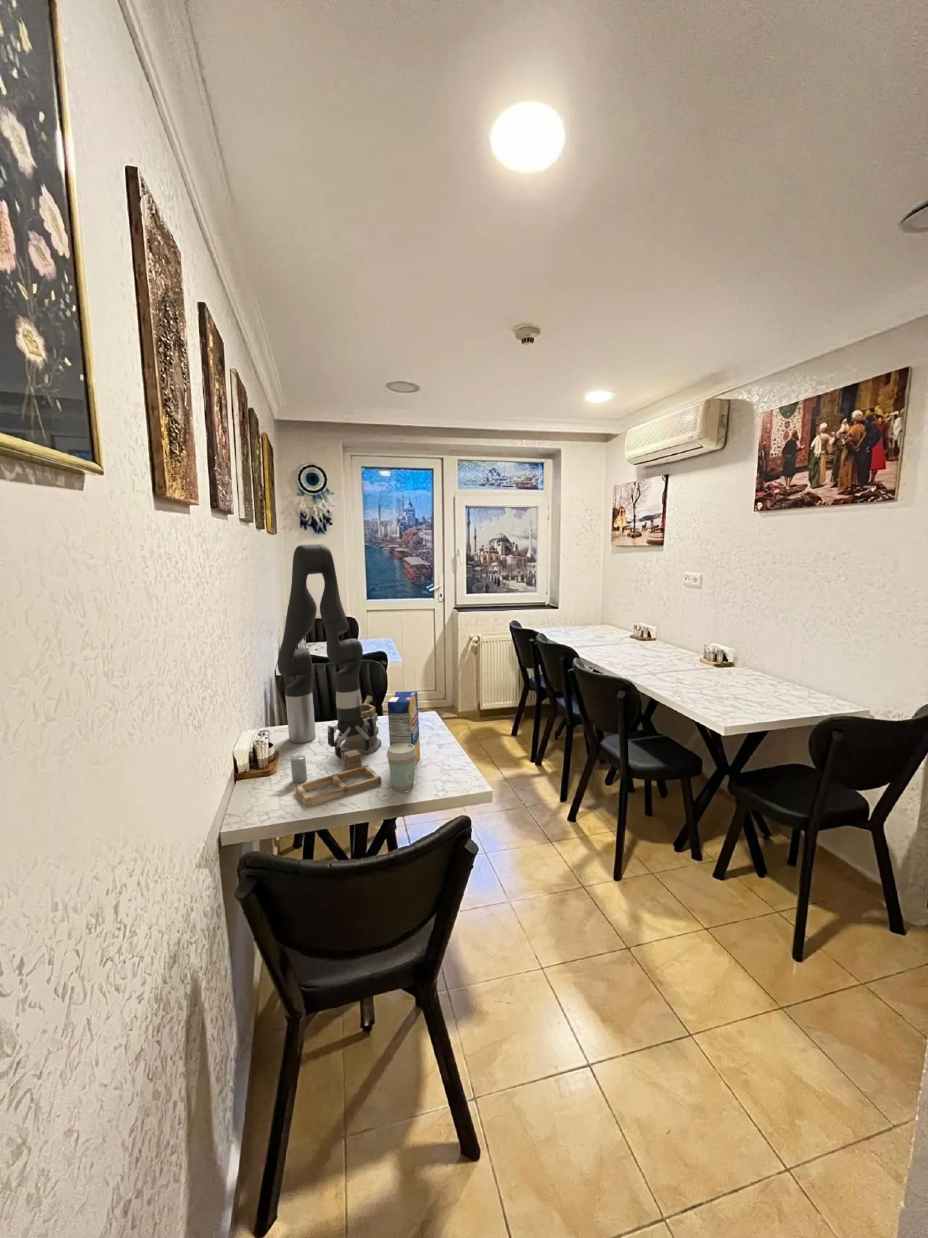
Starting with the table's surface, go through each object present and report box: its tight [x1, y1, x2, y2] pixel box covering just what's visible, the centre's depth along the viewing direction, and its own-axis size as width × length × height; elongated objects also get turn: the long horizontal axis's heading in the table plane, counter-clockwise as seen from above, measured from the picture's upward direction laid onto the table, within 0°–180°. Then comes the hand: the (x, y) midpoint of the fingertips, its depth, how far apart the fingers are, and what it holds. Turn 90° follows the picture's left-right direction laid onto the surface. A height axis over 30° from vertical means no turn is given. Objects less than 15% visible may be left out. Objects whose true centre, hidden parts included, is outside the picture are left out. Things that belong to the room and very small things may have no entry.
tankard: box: [340, 695, 382, 756], centre depth 174 cm, size 20×13×15 cm, turn 171°
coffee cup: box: [386, 743, 417, 793], centre depth 140 cm, size 8×8×12 cm
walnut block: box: [343, 750, 363, 771], centre depth 154 cm, size 4×4×5 cm
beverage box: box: [387, 691, 421, 767], centre depth 155 cm, size 7×11×22 cm, turn 173°
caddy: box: [295, 765, 382, 808], centre depth 142 cm, size 10×22×2 cm, turn 124°
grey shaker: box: [290, 754, 308, 785], centre depth 147 cm, size 4×4×7 cm
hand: (352, 754), depth 154 cm, fingers open, 8 cm apart
